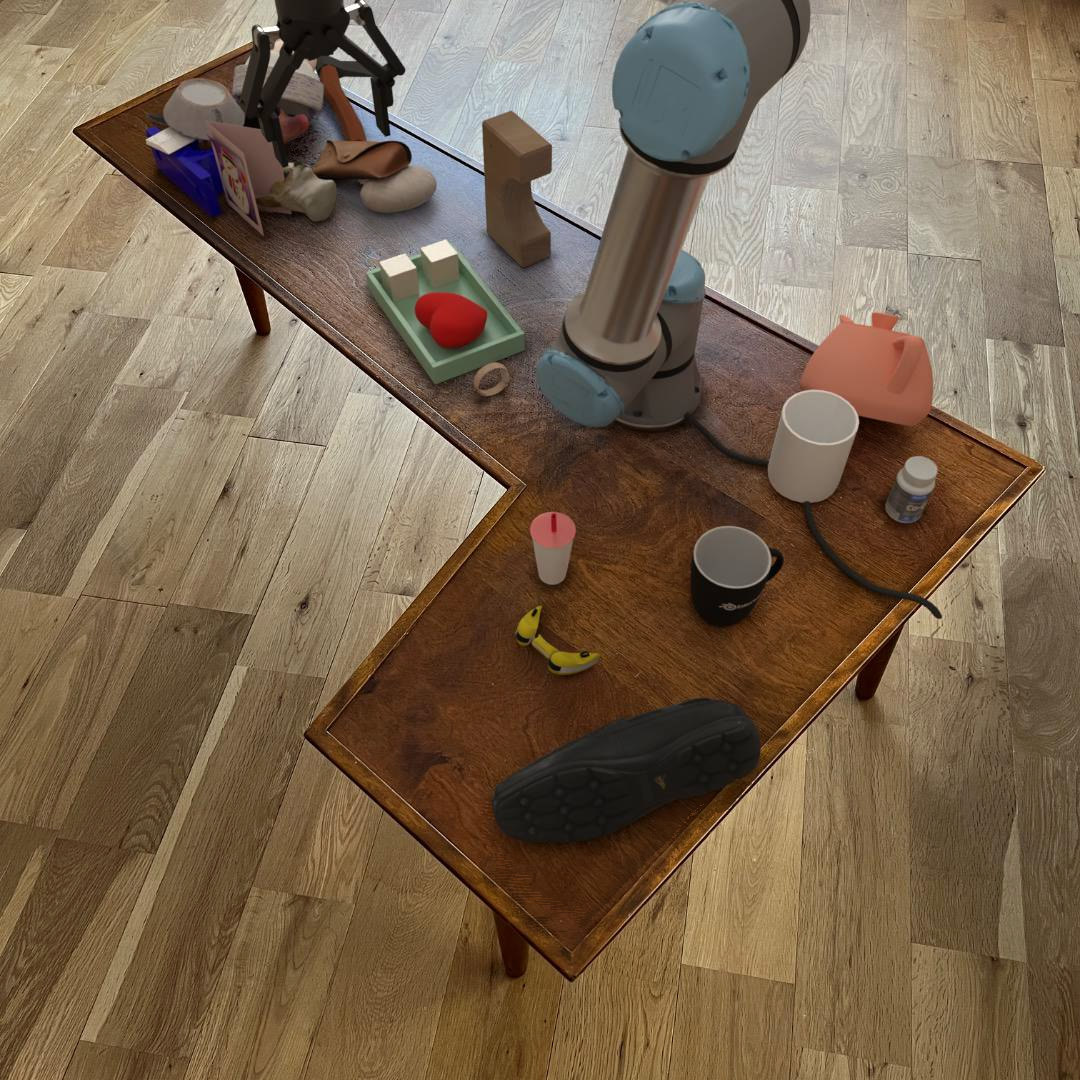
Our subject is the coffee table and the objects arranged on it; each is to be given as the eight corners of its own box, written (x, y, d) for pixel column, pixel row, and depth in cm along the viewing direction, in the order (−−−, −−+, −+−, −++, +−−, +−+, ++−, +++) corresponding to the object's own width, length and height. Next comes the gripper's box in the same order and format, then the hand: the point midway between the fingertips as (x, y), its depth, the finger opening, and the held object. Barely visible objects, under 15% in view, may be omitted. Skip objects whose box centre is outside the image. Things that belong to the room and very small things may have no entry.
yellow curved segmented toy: (499, 640, 128) (507, 618, 126) (535, 621, 133) (542, 600, 131) (560, 692, 124) (568, 670, 122) (594, 671, 129) (603, 650, 127)
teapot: (766, 393, 157) (790, 299, 154) (874, 415, 160) (898, 323, 157) (834, 411, 133) (863, 301, 130) (959, 438, 135) (990, 330, 133)
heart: (469, 309, 166) (408, 319, 162) (471, 276, 162) (408, 287, 158) (503, 348, 159) (440, 360, 155) (506, 315, 155) (442, 327, 151)
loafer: (506, 869, 110) (489, 816, 120) (774, 800, 115) (737, 754, 124) (490, 781, 107) (473, 733, 116) (766, 714, 111) (729, 673, 121)
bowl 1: (145, 95, 173) (147, 122, 177) (218, 125, 173) (219, 151, 176) (188, 59, 181) (189, 86, 185) (258, 88, 181) (258, 114, 185)
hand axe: (409, 156, 191) (371, 70, 209) (411, 138, 189) (372, 52, 206) (342, 157, 187) (308, 69, 205) (343, 139, 185) (309, 51, 202)
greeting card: (222, 205, 180) (200, 122, 168) (261, 187, 183) (242, 105, 171) (259, 238, 175) (238, 155, 163) (298, 220, 178) (281, 137, 166)
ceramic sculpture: (313, 184, 168) (235, 159, 172) (316, 236, 174) (241, 211, 178) (353, 161, 175) (277, 137, 180) (355, 212, 181) (282, 188, 185)
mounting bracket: (145, 130, 181) (177, 116, 183) (157, 168, 187) (188, 154, 189) (201, 179, 173) (233, 164, 175) (212, 217, 178) (243, 202, 181)
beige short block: (419, 294, 166) (416, 267, 162) (393, 303, 165) (389, 277, 161) (408, 279, 168) (405, 252, 164) (382, 288, 167) (378, 261, 163)
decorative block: (552, 257, 172) (553, 144, 156) (521, 270, 170) (520, 157, 155) (515, 220, 178) (513, 108, 162) (485, 232, 176) (480, 119, 160)
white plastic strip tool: (235, 118, 184) (234, 112, 183) (168, 155, 175) (167, 149, 174) (213, 108, 185) (212, 102, 184) (146, 144, 177) (144, 137, 176)
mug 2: (785, 513, 141) (803, 453, 132) (746, 447, 148) (760, 385, 139) (851, 495, 143) (873, 434, 133) (809, 431, 150) (827, 369, 140)
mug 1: (705, 646, 129) (716, 598, 121) (670, 589, 134) (679, 539, 126) (793, 614, 132) (810, 564, 124) (756, 558, 137) (770, 508, 129)
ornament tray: (525, 350, 160) (524, 333, 157) (434, 384, 155) (433, 367, 153) (453, 259, 172) (452, 242, 169) (368, 289, 168) (365, 272, 165)
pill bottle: (902, 530, 140) (920, 487, 133) (876, 505, 142) (893, 462, 135) (929, 514, 141) (949, 472, 134) (903, 490, 144) (921, 447, 137)
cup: (561, 597, 133) (562, 538, 124) (522, 580, 135) (521, 520, 125) (581, 566, 136) (584, 506, 126) (543, 549, 138) (544, 488, 128)
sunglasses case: (301, 177, 183) (303, 135, 182) (331, 183, 189) (333, 142, 187) (383, 179, 174) (385, 134, 172) (411, 184, 179) (413, 142, 178)
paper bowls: (340, 76, 194) (334, 122, 195) (261, 67, 197) (256, 112, 198) (305, 48, 179) (299, 99, 180) (220, 39, 182) (215, 89, 183)
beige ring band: (510, 392, 154) (509, 366, 150) (480, 403, 153) (478, 378, 149) (501, 380, 156) (501, 354, 152) (471, 391, 154) (470, 366, 150)
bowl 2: (224, 183, 184) (213, 140, 177) (210, 142, 191) (198, 99, 185) (317, 162, 187) (310, 120, 181) (300, 123, 194) (292, 81, 188)
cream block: (459, 280, 168) (457, 253, 164) (433, 289, 167) (431, 262, 163) (448, 265, 170) (446, 238, 166) (422, 274, 169) (419, 247, 165)
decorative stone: (372, 228, 176) (368, 202, 172) (355, 197, 181) (350, 171, 177) (446, 209, 180) (444, 182, 176) (427, 179, 184) (425, 153, 180)
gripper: (394, -68, 125) (411, 104, 142) (182, -16, 117) (227, 158, 134) (422, -40, 121) (437, 133, 138) (205, 15, 113) (248, 191, 130)
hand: (333, 146), depth 136 cm, fingers open, 13 cm apart
